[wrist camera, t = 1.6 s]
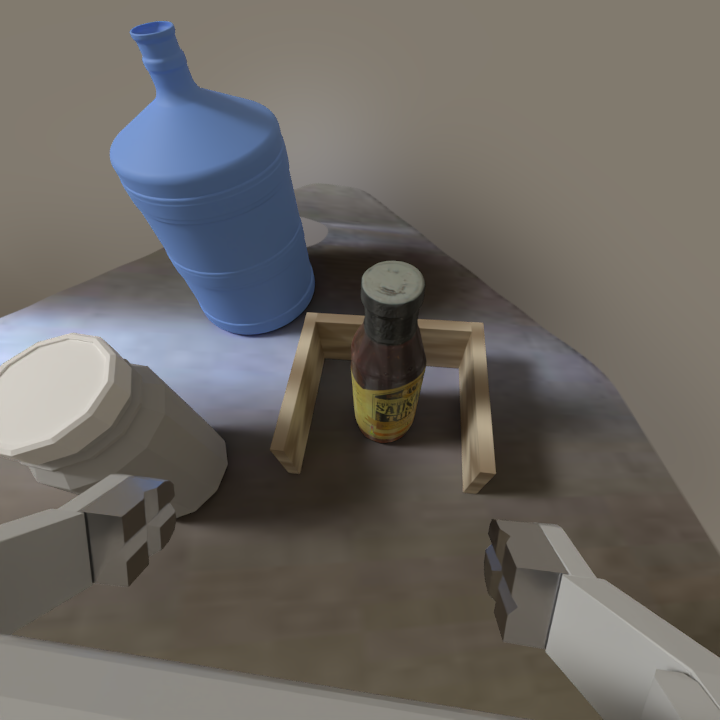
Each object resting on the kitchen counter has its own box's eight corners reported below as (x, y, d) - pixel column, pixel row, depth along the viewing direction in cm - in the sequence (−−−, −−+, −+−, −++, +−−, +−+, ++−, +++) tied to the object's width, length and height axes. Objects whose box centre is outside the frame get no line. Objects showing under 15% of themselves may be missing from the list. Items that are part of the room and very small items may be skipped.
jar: (213, 410, 40) (109, 301, 25) (247, 484, 35) (144, 404, 20) (125, 458, 37) (-49, 369, 22) (149, 545, 32) (-52, 507, 17)
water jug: (303, 342, 44) (214, 65, 21) (187, 333, 46) (-14, 70, 23) (325, 258, 53) (279, -6, 29) (226, 254, 55) (109, 2, 31)
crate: (476, 494, 33) (495, 473, 27) (288, 472, 35) (269, 449, 30) (469, 360, 41) (483, 322, 36) (317, 349, 44) (306, 312, 38)
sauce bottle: (379, 458, 36) (376, 343, 19) (344, 413, 39) (315, 280, 22) (427, 421, 38) (463, 288, 21) (390, 381, 41) (395, 236, 24)
